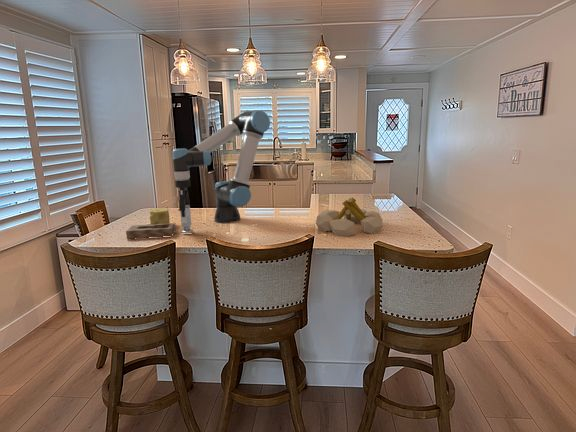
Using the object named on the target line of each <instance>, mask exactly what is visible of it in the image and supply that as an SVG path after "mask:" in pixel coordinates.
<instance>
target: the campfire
mask: <svg viewBox="0 0 576 432" xmlns="http://www.w3.org/2000/svg"><path fill="white" fill-rule="evenodd" d="M342 205H343V206H344V207H343V208H342V209H341V210H340V211H339V210H335V209H326V210H322V211H321V212H320V213H319V214H318V215H317V216H316V220H315V224H316V226H317V227H318V228H317V229H319V230H320V231H321V232H324V233H326V232H327V231H328V232H333V234H334V235H335V236H337V235H338V237H349V236H353V235H355V234H356V226H355V224H360V225H361V228H362V229H363V231H364V233H366V234H370V235H372V234H375V233H376V234H377V233H379V232H380V231H381V228H382V227H383V218H382V216H381V214H380V212H378V211H375V210H370V211H368V210H367V209H362V208H360V206H359V205H358V204H357V199H355V198H354V197H350V198H348V199H345V200H344V201H343V202H342ZM328 232H327V233H328Z"/></svg>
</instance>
